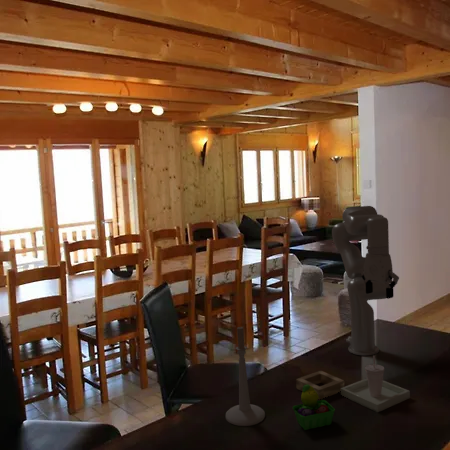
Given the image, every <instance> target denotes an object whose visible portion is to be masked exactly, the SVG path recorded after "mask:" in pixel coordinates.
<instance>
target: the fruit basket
mask: <svg viewBox="0 0 450 450" xmlns="http://www.w3.org/2000/svg"><path fill="white" fill-rule="evenodd" d="M300 398H301V402H302V403H301V404H297V405H293V406H292V411H294V414H295V417H296V420H297V423H298V424H299V426H300V427H301V428H302V429H303V430H304V431H307V430H310V429H316V428H321V427H322V428H323V427H325V426H330V425H332V422H333V418H334V414H335V410H336V409H335V408H334V407H333V406H332V405H331V404H330V403H329V402H328V401H327V400H325V399H321V400H318V399H319V396H318V394H317V392H316V391H315V390H314V388H313V387H312V386H310V385H308V384H307V385H304V386H303V391H301V397H300Z"/></svg>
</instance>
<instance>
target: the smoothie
mask: <svg viewBox="0 0 450 450" xmlns="http://www.w3.org/2000/svg"><path fill="white" fill-rule="evenodd" d="M372 362H373V363H372V364H367V365H366V366H365V367H364V371H365V372H366V373H365V374H366V378H367V380H368V386H369V392H370V396H372V397H381V393H382V383H383V381H384V373H385V371H386V370H385V367H384V365H381V364H376V356H375V355H372Z"/></svg>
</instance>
